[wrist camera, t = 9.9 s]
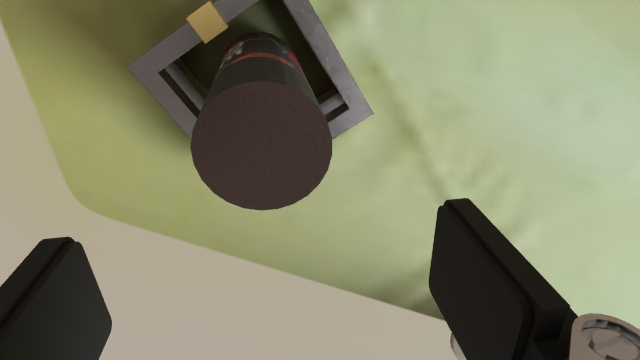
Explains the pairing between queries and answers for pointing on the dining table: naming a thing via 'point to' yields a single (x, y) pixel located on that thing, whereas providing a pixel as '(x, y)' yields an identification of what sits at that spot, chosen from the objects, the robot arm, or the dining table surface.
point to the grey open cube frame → (211, 19)
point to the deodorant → (261, 128)
